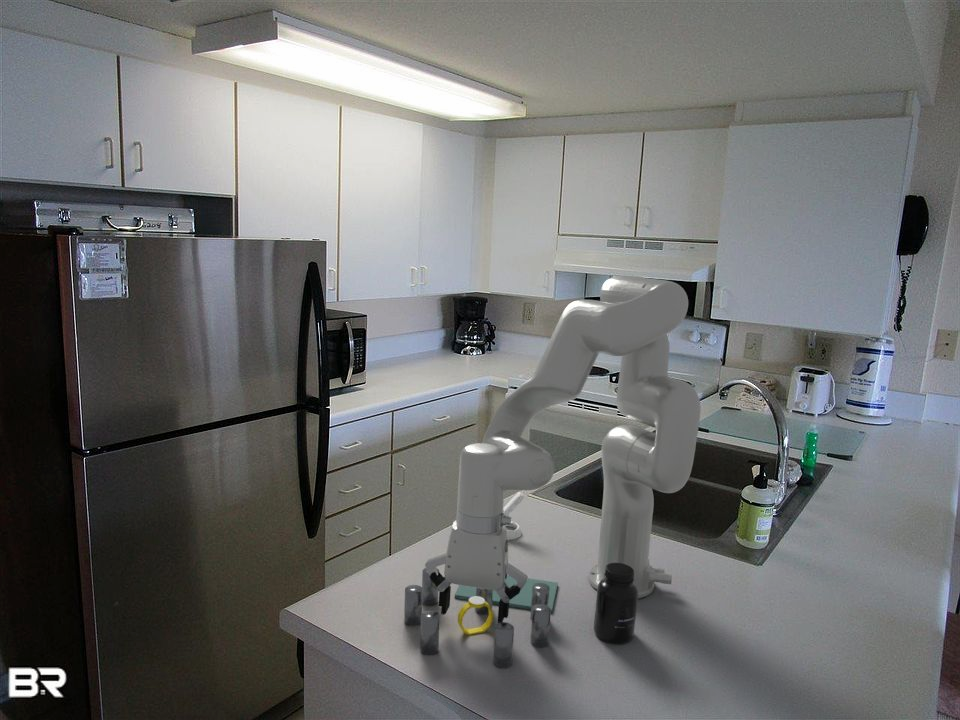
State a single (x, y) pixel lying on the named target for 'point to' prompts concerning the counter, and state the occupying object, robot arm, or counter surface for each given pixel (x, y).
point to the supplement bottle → (616, 604)
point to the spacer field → (502, 630)
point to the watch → (476, 603)
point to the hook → (508, 510)
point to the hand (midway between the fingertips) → (473, 615)
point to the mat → (519, 600)
